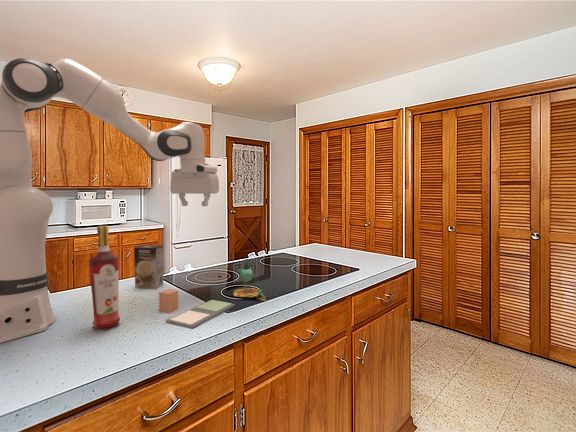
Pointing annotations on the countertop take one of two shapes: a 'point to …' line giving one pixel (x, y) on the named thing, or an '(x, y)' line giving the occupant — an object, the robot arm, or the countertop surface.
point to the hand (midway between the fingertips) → (194, 206)
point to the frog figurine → (246, 276)
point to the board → (200, 314)
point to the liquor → (104, 283)
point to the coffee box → (148, 266)
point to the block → (168, 300)
